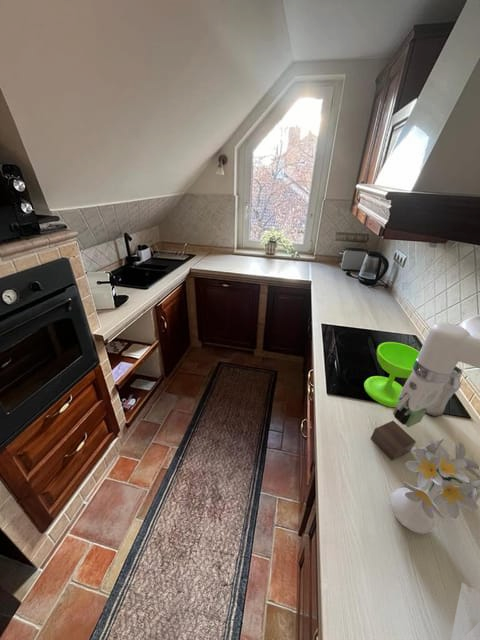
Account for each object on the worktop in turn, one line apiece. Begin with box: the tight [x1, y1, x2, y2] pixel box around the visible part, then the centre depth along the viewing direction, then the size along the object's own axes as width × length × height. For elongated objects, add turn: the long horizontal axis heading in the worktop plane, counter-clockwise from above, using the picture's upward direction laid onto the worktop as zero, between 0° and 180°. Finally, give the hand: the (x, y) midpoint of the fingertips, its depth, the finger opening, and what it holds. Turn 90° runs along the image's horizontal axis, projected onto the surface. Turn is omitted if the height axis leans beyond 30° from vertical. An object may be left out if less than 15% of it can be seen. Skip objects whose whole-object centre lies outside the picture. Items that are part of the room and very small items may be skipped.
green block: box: [392, 405, 427, 428], centre depth 72 cm, size 5×5×5 cm
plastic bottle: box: [425, 365, 463, 417], centre depth 87 cm, size 6×7×20 cm
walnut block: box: [370, 420, 417, 462], centre depth 79 cm, size 8×8×5 cm
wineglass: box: [363, 341, 420, 408], centre depth 95 cm, size 16×16×18 cm
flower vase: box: [389, 437, 480, 535], centre depth 56 cm, size 13×18×25 cm
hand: (406, 416), depth 73 cm, fingers closed on green block, 5 cm apart
